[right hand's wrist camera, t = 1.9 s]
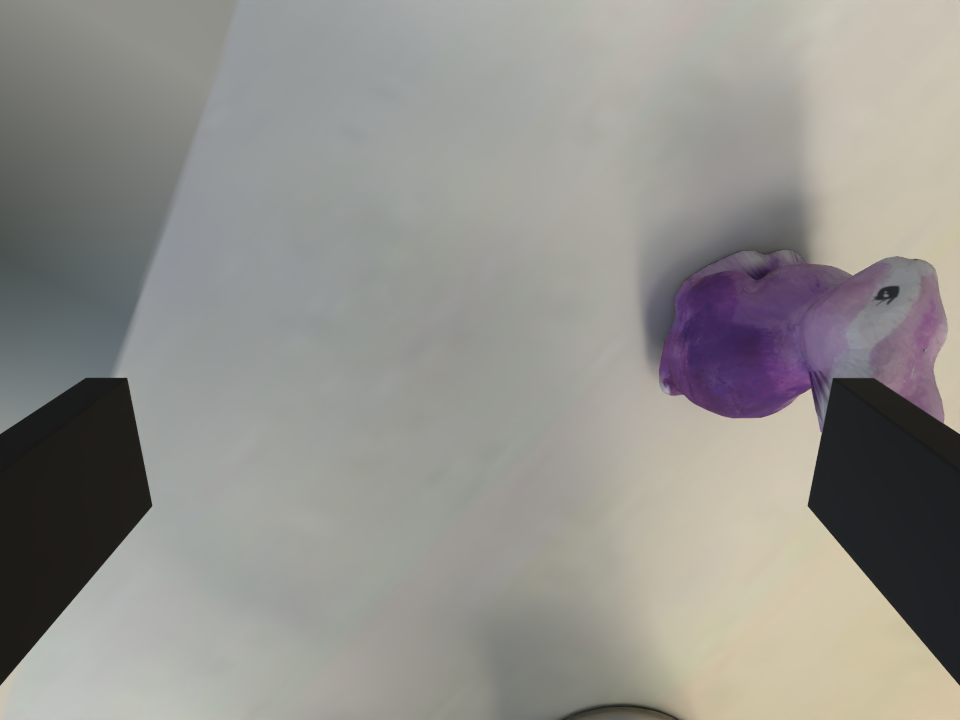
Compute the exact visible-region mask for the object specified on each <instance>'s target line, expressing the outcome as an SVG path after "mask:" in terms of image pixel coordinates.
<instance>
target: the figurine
mask: <svg viewBox="0 0 960 720" xmlns="http://www.w3.org/2000/svg"><path fill="white" fill-rule="evenodd" d="M675 309H676V315H675V320H674V323H673V325H672V327H671V329H670V331H669V333H668V335H667V338H666V340H665V343H664V348H663V353H662V357H661V362H660V367H659V383H660V387H661V390H662V391H663V392H664V393H666V394H668V395H672V396H676V395H683V394H684V395H685V396H686V397H687V398H688V399H689V400H690V401H691V402H693V403H694V404H696V405H698V406H700V407H702V408H704V409H706V410H708V411H711V412H713V413H716V414H718V415H721V416H725V417H730V418H761V417H765V416H769V415H771V414H774V413H776V412H778V411H780V410H782V409H783V408H785V407H786V406H788V405H789V404H791V403H792V402H793V401H794V400H795V399H796V398H797V397H798V396H799V395H800V394H802V393H804V392H806V391H807V390H809V389H810V388H811V389H812V394H813V399H814V404H815V409H816V413H817V416H818V421H819V426H820V431H821V432H822V430H823V425H824V420H825V415H826V410H827V405H828V400H829V395H830V390H831V385H832V380H833V378H875V379H876V380H878V381H879V382H881V383H883V384H884V385H886V386H887V387H889V388H890V389H892V390H893V391H895V392H896V393H898V394H899V395H901V396H902V397H904V398H905V399H907V400H908V401H910V402H911V403H913V404H914V405H916V406H918V407H919V408H921V409H922V410H924V411H925V412H927V413H928V414H930V415H931V416H933V417H934V418H936V419H937V420H939V421H940V422H942V423H943V424H944V411H943V405H942V400H941V397H940V394H939V391H938V388H937V385H936V382H935V377H934V371H933V368H934V363H935V359H936V357H937V355H938V353H939V351H940V350H941V348H942V346H943V344H944V342H945V340H946V337H947V331H948V326H947V319H946V315H945V311H944V308H943V305H942V301H941V297H940V292H939V286H938V278H937V274H936V270H935V268H934V267H933V266H932V265H931V264H929V263H928V262H927V261H923V260H920V259H907V258H903V257H898V256H896V257H890V258H885V259H883V260H881V261H879V262H877V263H875V264H873V265H871V266H870V267H868V268H866V269H864V270H862V271H861V272H859V273H857V274H855V275H854V276H852V275H850V274H849V273H847V272H845V271H843V270H841V269H838V268H835V267H832V266H826V265H817V264H805V262H804V261H803V260H802V258H801V257H800V255H798V254H797V253H795V252H794V251H791V250H780V251H776V252H772V253H770V254H766V255H764V254H761V253H759V252H757V251H740V252H738V253H735V254H732V255H730V256H727V257H726V258H724V259H720V260H719V261H717V262H715V263H713V264H711V265H709V266H707V267H705V268H703V269H702V270H700V271H698V272H697V273H695V274H694V275H692V276H690V277H689V278H688V279H686V280H685V281H684V282H683V284H682V285H681V287H680V288H679V289H678V291H677V293H676V297H675Z"/></svg>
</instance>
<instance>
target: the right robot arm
mask: <svg viewBox="0 0 960 720" xmlns="http://www.w3.org/2000/svg"><path fill="white" fill-rule="evenodd" d="M151 507H152V502H151V496H150V491H149V486H148V481H147V476H146V471H145V466H144V461H143V456H142V451H141V446H140V441H139V435H138V430H137V425H136V420H135V415H134V410H133V405H132V400H131V395H130V390H129V385H128V380H127V378H85V379H84V380H82V381H81V382H79V383H78V384H76V385H74V386H73V387H71V388H70V389H68V390H67V391H65V392H64V393H62V394H61V395H59V396H58V397H56V398H55V399H53V400H52V401H50V402H49V403H47V404H46V405H44V406H42V407H41V408H39V409H38V410H36V411H35V412H33V413H32V414H30V415H29V416H27V417H26V418H24V419H23V420H21V421H20V422H18V423H17V424H15V425H14V426H12V427H11V428H9V429H7V430H6V431H4V432H3V433H1V434H0V685H1V684H2V683H3V682H4V681H5V679H6V678H7V677H8V676H9V675H10V673H11V672H12V671H13V670H14V669H15V668H16V666H17V665H18V664H19V663H20V662H21V660H22V659H23V658H24V657H25V656H26V655H27V653H28V652H29V651H30V650H31V649H32V647H33V646H34V645H35V644H36V643H37V642H38V640H39V639H40V638H41V637H42V636H43V634H44V633H45V632H46V631H47V630H48V629H49V627H50V626H51V625H52V624H53V623H54V622H55V620H56V619H57V618H58V617H59V616H60V614H61V613H62V612H63V611H64V610H65V609H66V607H67V606H68V605H69V604H70V603H71V601H72V600H73V599H74V598H75V597H76V596H77V594H78V593H79V592H80V591H81V590H82V588H83V587H84V586H85V585H86V584H87V583H88V581H89V580H90V579H91V578H92V577H93V575H94V574H95V573H96V572H97V571H98V570H99V568H100V567H101V566H102V565H103V564H104V562H105V561H106V560H107V559H108V558H109V557H110V555H111V554H112V553H113V552H114V551H115V549H116V548H117V547H118V546H119V545H120V544H121V542H122V541H123V540H124V539H125V538H126V536H127V535H128V534H129V533H130V532H131V531H132V529H133V528H134V527H135V526H136V525H137V523H138V522H139V521H140V520H141V519H142V518H143V516H144V515H145V514H146V513H147V512H148V511H149V509H150V508H151ZM808 507H809V508H810V509H811V511H812V512H813V513H814V514H815V515H816V516H817V518H818V519H819V520H820V521H821V522H822V523H823V525H824V526H825V527H826V528H827V529H828V531H829V532H830V533H831V534H832V535H833V536H834V538H835V539H836V540H837V541H838V542H839V544H840V545H841V546H842V547H843V548H844V549H845V551H846V552H847V553H848V554H849V555H850V557H851V558H852V559H853V560H854V561H855V562H856V564H857V565H858V566H859V567H860V568H861V570H862V571H863V572H864V573H865V574H866V575H867V577H868V578H869V579H870V580H871V581H872V583H873V584H874V585H875V586H876V587H877V588H878V590H879V591H880V592H881V593H882V594H883V596H884V597H885V598H886V599H887V600H888V601H889V603H890V604H891V605H892V606H893V607H894V609H895V610H896V611H897V612H898V613H899V614H900V616H901V617H902V618H903V619H904V620H905V622H906V623H907V624H908V625H909V626H910V627H911V629H912V630H913V631H914V632H915V633H916V634H917V636H918V637H919V638H920V639H921V640H922V642H923V643H924V644H925V645H926V646H927V647H928V649H929V650H930V651H931V652H932V653H933V655H934V656H935V657H936V658H937V659H938V660H939V662H940V663H941V664H942V665H943V666H944V668H945V669H946V670H947V671H948V672H949V673H950V675H951V676H952V677H953V678H954V679H955V681H956V682H957V683H958V684H959V685H960V434H959V433H957V432H956V431H954V430H953V429H951V428H949V427H948V426H946V425H945V424H943V423H942V422H940V421H939V420H937V419H936V418H934V417H933V416H931V415H930V414H928V413H927V412H925V411H924V410H922V409H921V408H919V407H918V406H916V405H914V404H913V403H911V402H910V401H908V400H907V399H905V398H904V397H902V396H901V395H899V394H898V393H896V392H895V391H893V390H892V389H890V388H889V387H887V386H886V385H884V384H883V383H881V382H879V381H878V380H876V379H875V378H833V380H832V385H831V390H830V395H829V400H828V405H827V410H826V415H825V420H824V425H823V430H822V435H821V441H820V446H819V451H818V456H817V461H816V466H815V471H814V476H813V481H812V486H811V491H810V496H809V502H808ZM565 720H676V719H674V718H672V717H670V716H668V715H665V714H663V713H659V712H656V711H652V710H648V709H643V708H635V707H609V708H601V709H595V710H590V711H586V712H583V713H580V714H577V715H574V716H571V717H569V718H567V719H565Z"/></svg>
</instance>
